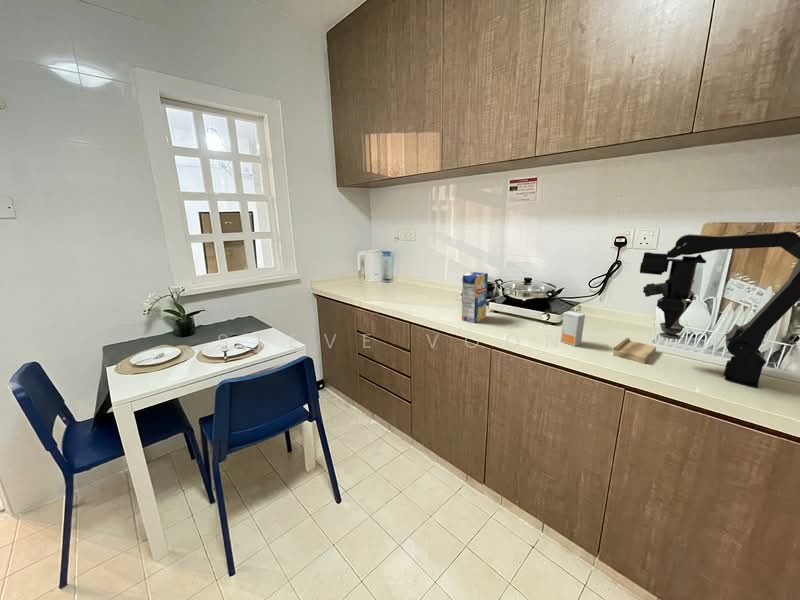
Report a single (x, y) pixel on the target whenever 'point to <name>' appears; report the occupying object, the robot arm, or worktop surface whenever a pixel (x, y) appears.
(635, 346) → the dock
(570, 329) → the skincare box
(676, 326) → the salt shaker
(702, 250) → the robot arm
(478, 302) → the beverage box
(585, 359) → the worktop surface
